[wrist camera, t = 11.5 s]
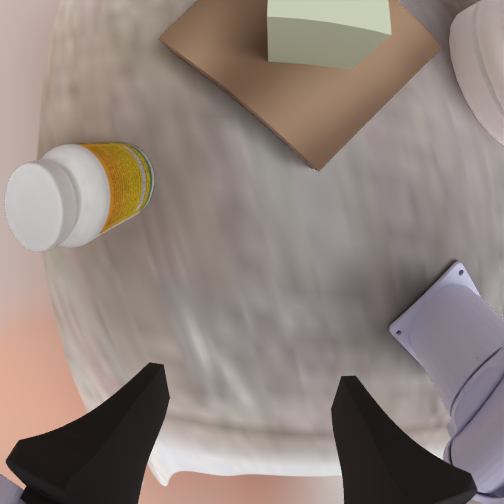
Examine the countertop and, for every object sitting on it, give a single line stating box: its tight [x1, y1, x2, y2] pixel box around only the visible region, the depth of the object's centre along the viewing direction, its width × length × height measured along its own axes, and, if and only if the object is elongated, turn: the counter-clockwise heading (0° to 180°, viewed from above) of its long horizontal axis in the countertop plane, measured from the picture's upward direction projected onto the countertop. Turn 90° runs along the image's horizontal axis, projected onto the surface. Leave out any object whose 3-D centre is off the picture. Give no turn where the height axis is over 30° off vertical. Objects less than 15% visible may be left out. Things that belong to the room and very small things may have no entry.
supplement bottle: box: [4, 143, 154, 252], centre depth 15 cm, size 5×5×10 cm
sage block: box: [267, 0, 392, 71], centre depth 10 cm, size 4×4×6 cm
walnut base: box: [159, 0, 442, 171], centre depth 14 cm, size 12×12×3 cm
